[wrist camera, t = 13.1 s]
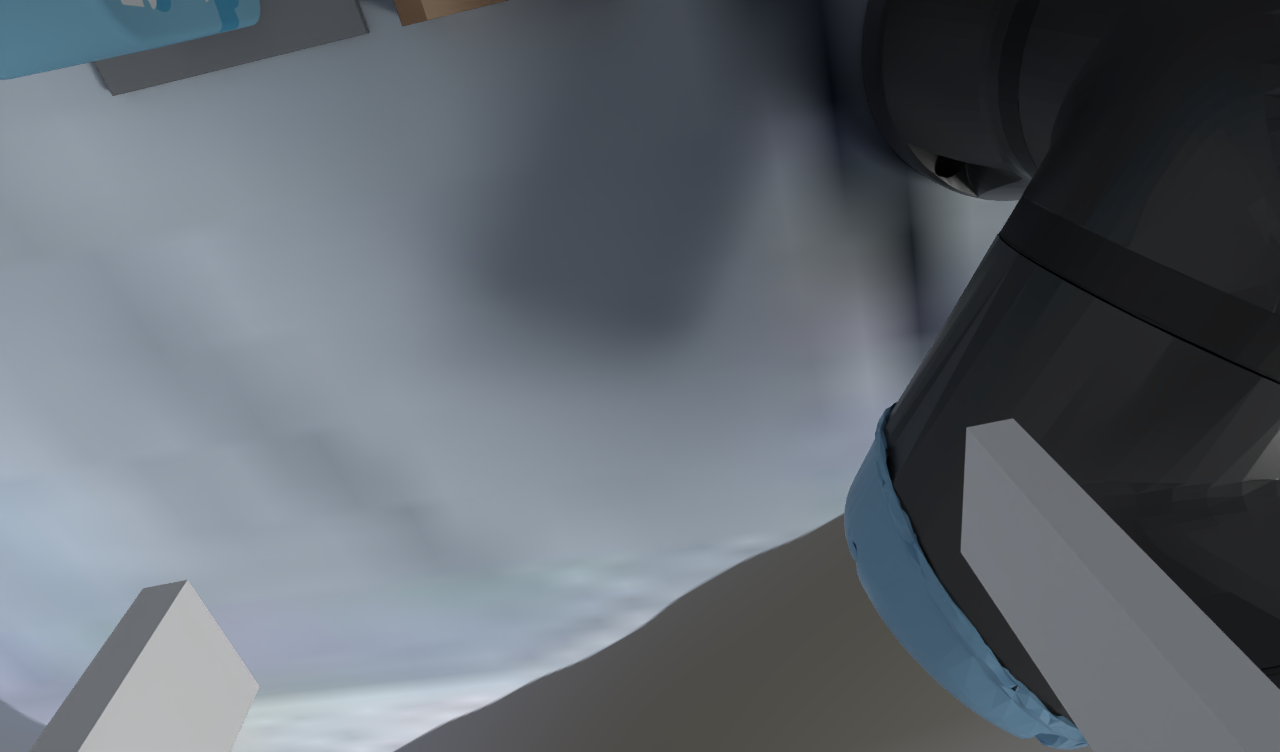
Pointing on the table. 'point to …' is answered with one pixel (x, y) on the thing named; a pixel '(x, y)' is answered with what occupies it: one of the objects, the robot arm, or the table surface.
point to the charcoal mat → (238, 43)
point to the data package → (106, 29)
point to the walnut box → (435, 8)
